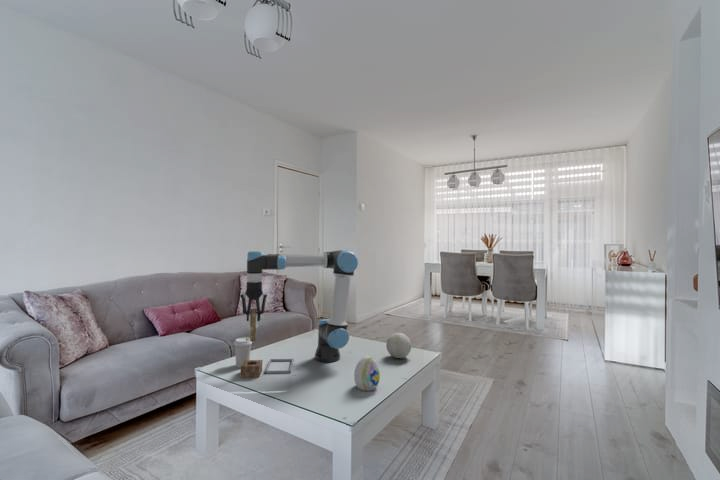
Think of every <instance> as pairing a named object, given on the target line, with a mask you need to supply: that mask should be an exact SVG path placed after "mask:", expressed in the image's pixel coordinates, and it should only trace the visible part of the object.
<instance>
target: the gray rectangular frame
mask: <svg viewBox="0 0 720 480" xmlns="http://www.w3.org/2000/svg"><path fill="white" fill-rule="evenodd" d="M294 360H295V359H294V358H270V359H269V361H268V364H267V365H266V368H265V370H264V374H265V375H268V374H269V375H272V374H274V375H276V374H279V375H282V374H285V375H286V374H291V373H292V368H293V365H294ZM272 362H273V363H276V362H277V363H278V362H279V363H280V362H284V363H285V362H290V365H289V369H287V370H269V369H270V366H271V364H272Z"/></svg>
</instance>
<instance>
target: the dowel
mask: <svg viewBox="0 0 720 480" xmlns="http://www.w3.org/2000/svg"><path fill="white" fill-rule="evenodd" d="M250 314H251V327H250V328H249V329H250V331H249V335H250V337H249V338H250V341H252V342H256V340H257V328H256V315H257V308H251V310H250Z"/></svg>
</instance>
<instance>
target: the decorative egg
mask: <svg viewBox="0 0 720 480" xmlns="http://www.w3.org/2000/svg"><path fill="white" fill-rule="evenodd" d="M380 373H381V372H380V369H379V365H378V362H376V360H375V358H373V357H372V356H370V355H365V356H363V357H361V358H360V359H358V362H357V363H356V366H355V369H354V374H353V375H354V376H353V377H354V382H355V385H356V387H357V388H358V389H359V390H361V391H365V392H371V391H374V390H375V389H376V388H377V387H378V386H379V382H380V376H381V374H380Z"/></svg>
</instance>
